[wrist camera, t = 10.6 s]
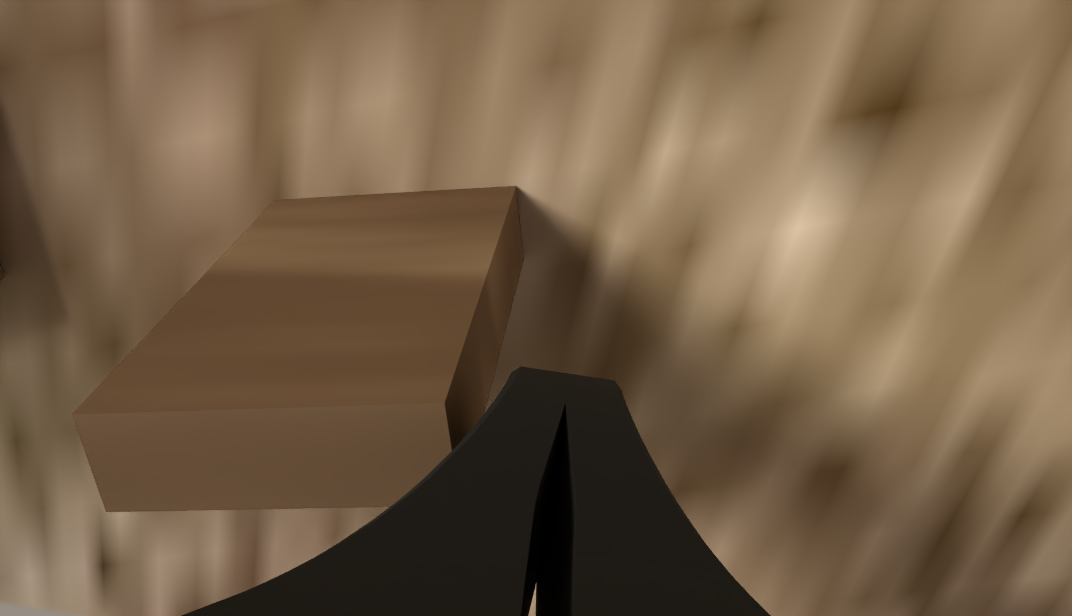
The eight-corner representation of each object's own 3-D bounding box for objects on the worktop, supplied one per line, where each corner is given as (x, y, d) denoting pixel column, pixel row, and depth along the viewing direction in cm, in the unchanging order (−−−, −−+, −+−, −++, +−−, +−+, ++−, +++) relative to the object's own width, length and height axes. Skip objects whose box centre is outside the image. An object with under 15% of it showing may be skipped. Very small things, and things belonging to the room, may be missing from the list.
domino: (523, 259, 18) (459, 505, 12) (290, 270, 18) (105, 511, 12) (516, 186, 17) (444, 403, 11) (275, 200, 18) (72, 414, 11)
